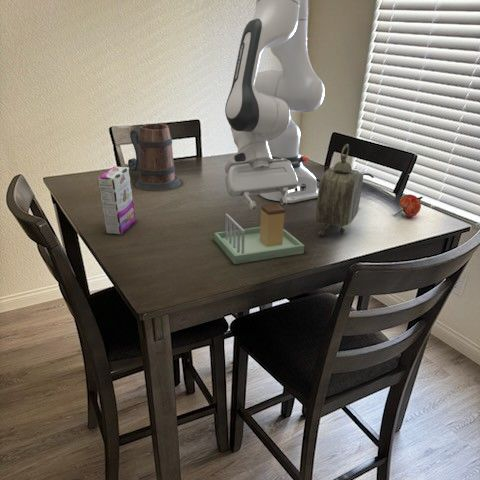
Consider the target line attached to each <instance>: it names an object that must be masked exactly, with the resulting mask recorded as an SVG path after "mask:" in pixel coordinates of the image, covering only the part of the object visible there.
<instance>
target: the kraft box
mask: <svg viewBox="0 0 480 480" xmlns="http://www.w3.org/2000/svg"><path fill="white" fill-rule="evenodd" d="M285 214H286V209H285V208H284V207H282V205H281V204H278V203H270V204H263V205H260V220H259V222H260V223H259V224H260V225H259V227H260V241H261V242H262V243H263V244H264V245H265V246H266V247H268V246H274V245H281V244H282V242H283V229H285V228H284V227H285V226H284V225H285Z"/></svg>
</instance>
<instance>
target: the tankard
mask: <svg viewBox="0 0 480 480" xmlns="http://www.w3.org/2000/svg"><path fill="white" fill-rule="evenodd" d="M129 136H130V140H131V143H132V146H133V148H134V152H135V157H134V158H133V157H132V158H129V159H128V161H127V165H128V166H127V167H129V170H131V171H132V172H136V171H139V176H138V178H137V180H136V182H135V183H134V185H135V187H137V188H138V189H140V190H145V191H155V192H157V191H169V190H173V189H176V188H178V187H180V186H181V185H182V182H181V180H179V178H178V177H177V175H176V172H175V171H176V166H175V163H174V153H173V138H172V136H171V131H170V128H169V126H168V124H164V123H159V124H143V125H140V126H139V128H135V129H132V130H130V132H129Z"/></svg>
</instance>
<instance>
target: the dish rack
mask: <svg viewBox="0 0 480 480" xmlns="http://www.w3.org/2000/svg"><path fill="white" fill-rule="evenodd" d="M224 217H225V219H224V221H225V222H224V223H225V229H224V231H217V232H214V233H213V235H214V236H213V237H214V238H213V240H214V242H215V243H216V244H217V246H219V248H220V249H221V250H222V251H223V253H225V255H226V256H227V257H228V259H229V260H230V261H231V262H232V263H233V264H234V265H238V264H245V263H251V262H256V261H264V260H270V259H276V258H283V257H289V256H294V255H301V254H304V253H305V244H303V242H301V241H299V240H298V239H297V238H296V237H295V236H293V235H292V234H291V233H290V232H289V231H288V230H286V229H285V228H284V229H283V242H282V244H281V245H274V246H268V247H266V246H265V245H264V244H263V243H262V242H261V241H260V226H255V227H247V228H243V226H241V225H240V224H239V223H238V222H237V221H235V220H234V219H233V217H232V216H230V214H228V213H225V216H224Z"/></svg>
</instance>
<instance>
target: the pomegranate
mask: <svg viewBox="0 0 480 480" xmlns="http://www.w3.org/2000/svg"><path fill="white" fill-rule="evenodd" d="M421 199H422V200H423V199H424V197H423V196H419V197H417V196H416V195H415V194H410V193H409V194H405V195H403V196H402V197H401V198H400V199H399V201H398V204H399V206H400V207H401V208H402V209H400V211H398V212H397V213H395V214H394V215H393V216H394V217H395V216H397V215H398V214H401V213H402V212H403V214H404V215H406V216H407V217H408V218H413V217H415V216H417V215H418V214H419V213H420V211H421V208H422V203H421Z"/></svg>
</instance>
